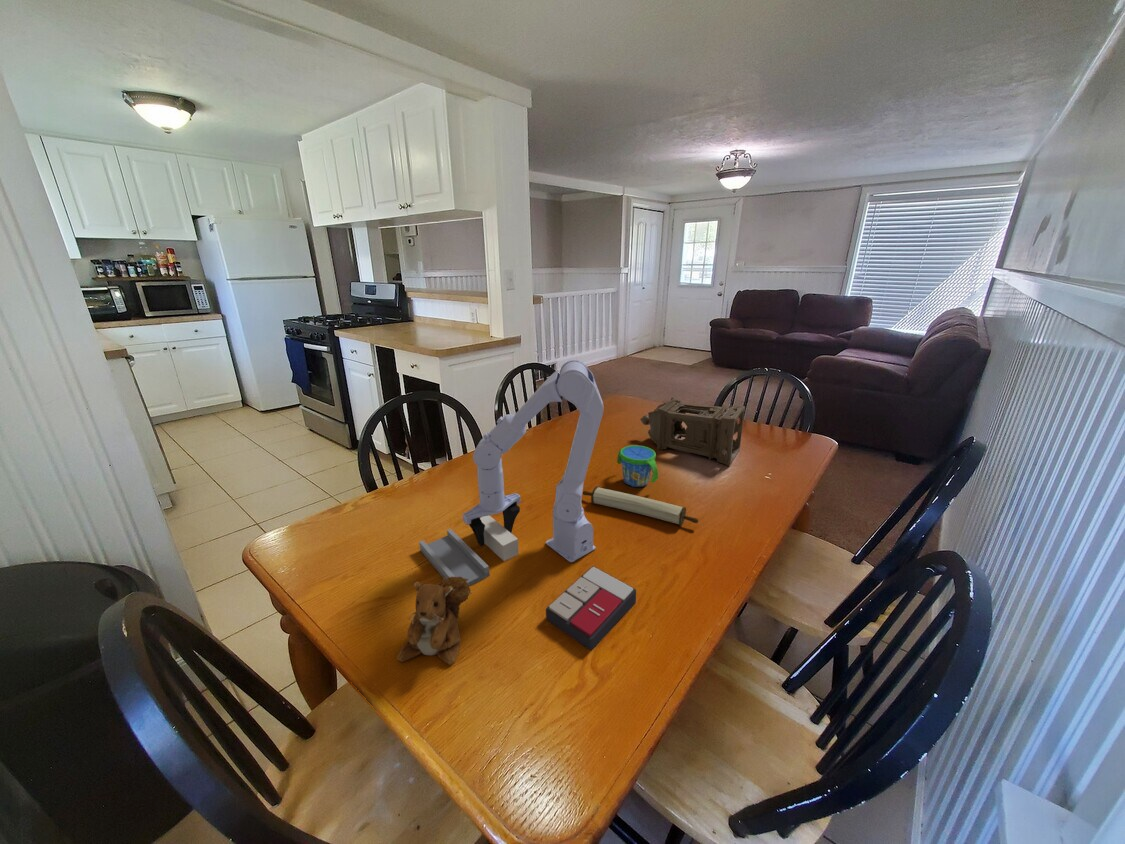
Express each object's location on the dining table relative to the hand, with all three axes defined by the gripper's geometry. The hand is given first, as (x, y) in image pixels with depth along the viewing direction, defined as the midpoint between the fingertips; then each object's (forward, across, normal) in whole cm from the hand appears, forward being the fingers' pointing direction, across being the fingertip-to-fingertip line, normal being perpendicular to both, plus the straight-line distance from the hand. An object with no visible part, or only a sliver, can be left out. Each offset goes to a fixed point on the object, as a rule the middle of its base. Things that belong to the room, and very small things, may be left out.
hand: (494, 537), depth 103 cm
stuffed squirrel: (+2, +22, +17) cm, 28 cm away
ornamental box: (+2, -83, -4) cm, 83 cm away
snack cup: (+2, -49, +2) cm, 49 cm away
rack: (+2, +11, 0) cm, 11 cm away
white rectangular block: (+2, 0, 0) cm, 2 cm away
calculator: (+2, -3, +30) cm, 31 cm away
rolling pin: (+2, -36, +13) cm, 39 cm away
